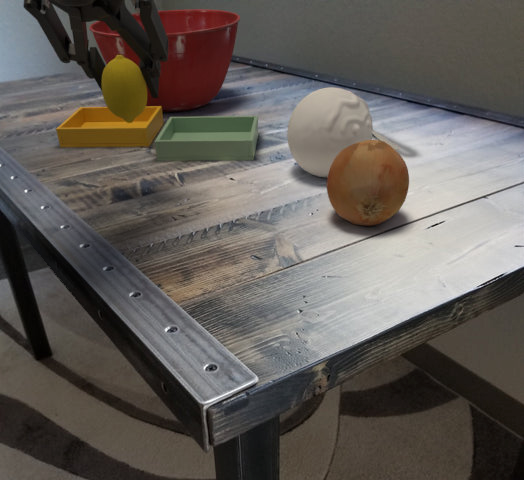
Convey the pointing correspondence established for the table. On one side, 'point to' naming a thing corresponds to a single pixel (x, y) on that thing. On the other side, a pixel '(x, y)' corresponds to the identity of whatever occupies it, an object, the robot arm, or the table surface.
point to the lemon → (124, 88)
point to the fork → (385, 140)
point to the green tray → (208, 138)
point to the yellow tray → (109, 128)
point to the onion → (368, 182)
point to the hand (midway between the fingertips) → (132, 88)
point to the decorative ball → (327, 128)
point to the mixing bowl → (183, 55)
